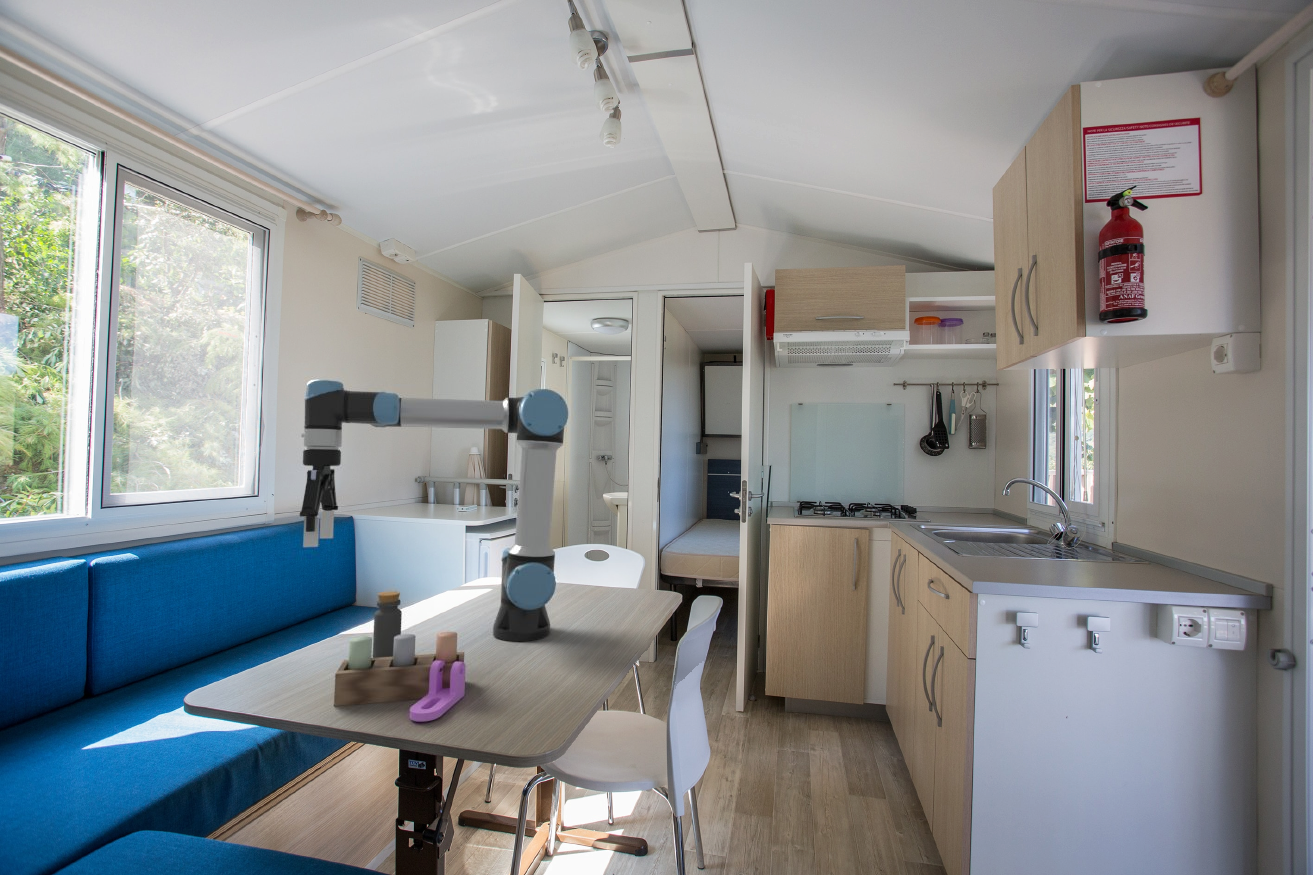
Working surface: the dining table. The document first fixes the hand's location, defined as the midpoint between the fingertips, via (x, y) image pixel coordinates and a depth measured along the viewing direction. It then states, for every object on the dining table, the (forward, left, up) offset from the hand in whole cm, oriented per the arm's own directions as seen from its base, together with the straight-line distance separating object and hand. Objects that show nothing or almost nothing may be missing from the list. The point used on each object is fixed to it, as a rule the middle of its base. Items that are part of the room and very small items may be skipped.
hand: (318, 542), depth 135 cm
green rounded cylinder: (-13, +22, -23) cm, 34 cm away
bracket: (-28, +31, -27) cm, 50 cm away
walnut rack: (-21, +22, -27) cm, 41 cm away
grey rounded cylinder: (-21, +22, -23) cm, 38 cm away
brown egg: (-29, +22, -23) cm, 43 cm away
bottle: (-15, -1, -27) cm, 31 cm away
